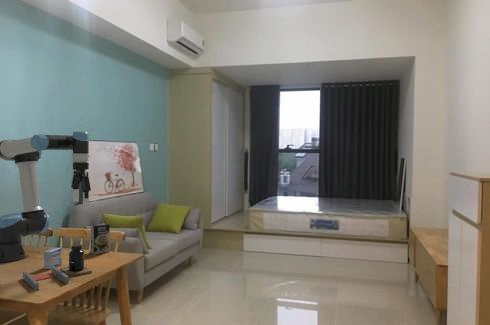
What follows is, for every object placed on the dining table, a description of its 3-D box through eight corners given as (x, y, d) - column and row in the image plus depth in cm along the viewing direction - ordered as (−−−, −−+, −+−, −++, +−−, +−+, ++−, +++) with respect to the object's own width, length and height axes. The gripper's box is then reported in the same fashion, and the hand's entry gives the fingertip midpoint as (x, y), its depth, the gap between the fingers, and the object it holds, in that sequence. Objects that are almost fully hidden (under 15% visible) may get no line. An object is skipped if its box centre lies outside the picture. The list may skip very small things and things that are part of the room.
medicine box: (51, 269, 192) (51, 252, 192) (43, 268, 193) (43, 251, 193) (62, 264, 200) (61, 248, 200) (54, 264, 201) (54, 247, 201)
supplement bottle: (67, 272, 185) (67, 247, 184) (70, 268, 191) (69, 244, 191) (83, 271, 187) (83, 246, 186) (85, 267, 193) (85, 243, 193)
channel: (23, 278, 179) (23, 272, 179) (54, 272, 188) (54, 266, 188) (35, 290, 164) (35, 283, 164) (68, 283, 173) (68, 276, 173)
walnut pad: (60, 270, 191) (60, 268, 191) (81, 266, 198) (81, 264, 198) (70, 277, 181) (70, 275, 181) (91, 272, 188) (91, 270, 188)
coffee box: (93, 254, 220) (93, 226, 219) (90, 252, 225) (90, 224, 224) (109, 252, 226) (109, 224, 225) (105, 249, 231) (105, 222, 230)
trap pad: (29, 278, 179) (29, 277, 179) (50, 273, 186) (50, 273, 186) (32, 281, 175) (32, 280, 175) (54, 277, 181) (54, 276, 181)
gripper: (97, 162, 193) (97, 205, 193) (79, 160, 211) (79, 200, 212) (82, 162, 187) (82, 206, 188) (64, 161, 206) (64, 201, 207)
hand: (80, 203), depth 200 cm, fingers open, 13 cm apart
